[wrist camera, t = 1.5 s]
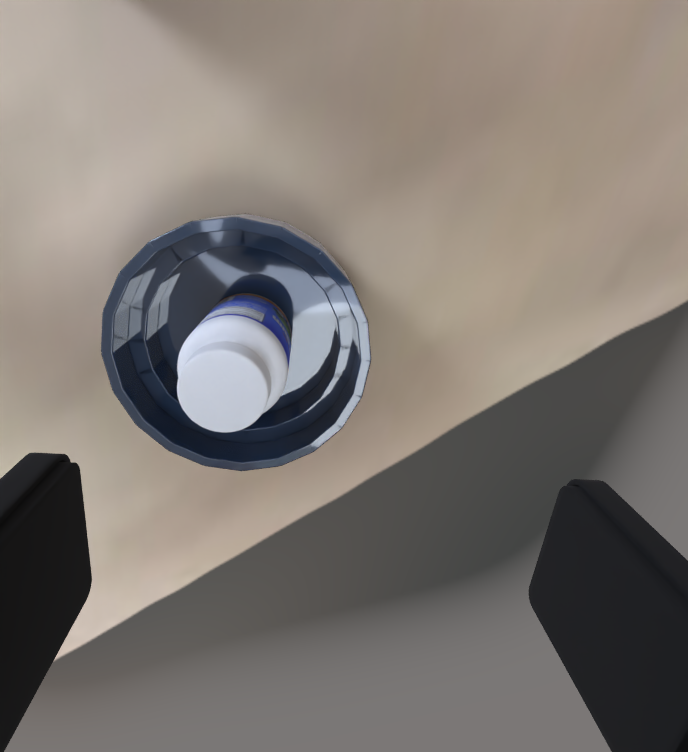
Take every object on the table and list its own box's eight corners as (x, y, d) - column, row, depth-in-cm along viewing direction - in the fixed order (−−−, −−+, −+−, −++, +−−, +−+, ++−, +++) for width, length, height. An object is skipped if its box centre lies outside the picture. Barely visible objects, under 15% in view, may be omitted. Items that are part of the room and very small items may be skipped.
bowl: (127, 413, 31) (96, 451, 26) (141, 189, 26) (107, 187, 22) (335, 444, 33) (340, 485, 29) (383, 243, 28) (398, 252, 24)
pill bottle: (293, 373, 31) (288, 447, 22) (209, 374, 30) (168, 450, 21) (290, 290, 29) (284, 333, 20) (201, 290, 28) (152, 335, 19)
